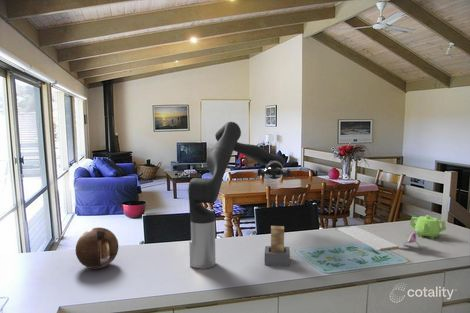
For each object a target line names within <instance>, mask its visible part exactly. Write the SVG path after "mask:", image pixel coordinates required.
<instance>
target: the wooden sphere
mask: <svg viewBox="0 0 470 313" xmlns="http://www.w3.org/2000/svg"><path fill="white" fill-rule="evenodd" d="M118 252H119V241H118V238H117V237H116V235H115V234H114V232H113V231H111V230H110V229H108V228H105V227H93V228H90V229H87V230H86V231H84V233H82V235H80V237H79V238H78V240H77V242H76V244H75V255H76V258H77V260H78V261H79V263H80V264H81V265H82V266H84V267H86V268H88V269H91V270H97V269H98V270H99V269H103V268H105V267H107V266H108V265H110V264H111V263H112V262H113V261H115V259H116V257H117V255H118Z"/></svg>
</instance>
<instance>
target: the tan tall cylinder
mask: <svg viewBox="0 0 470 313" xmlns="http://www.w3.org/2000/svg"><path fill="white" fill-rule="evenodd" d="M270 246H271V252H282V253H284V247H285V226H284V225H283V226H282V225H271V226H270Z"/></svg>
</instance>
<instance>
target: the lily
mask: <svg viewBox="0 0 470 313" xmlns="http://www.w3.org/2000/svg"><path fill="white" fill-rule="evenodd" d="M420 228H421V227H420ZM420 228H419V229H420ZM419 229H418V230H419ZM418 230H417V231H418ZM417 231H415V230H414V231H413V232H412V233H411V234H410V235H409V234H408V235H406V237H408V240H407V241H405V242H403V246H404V245H405V244H409V243H416V244H417V245H418V248H419V249H420V250H421V251H423V249H422V247H421V246H420V244H419V243H418V241H417V239H416V238H417V237H416V236H417ZM401 248H402V246H399V248H398V249H401Z"/></svg>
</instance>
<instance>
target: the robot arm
mask: <svg viewBox="0 0 470 313" xmlns="http://www.w3.org/2000/svg"><path fill="white" fill-rule="evenodd" d="M241 136H242V131H241V128H240V125H239V124H238V123H236V122H235V121H229V122H226V123H224V124H223V126H221V128H219V129H218V130H217V131H216V132H215V140H216V143H215V144H214V145H213V146H212V148H211V149H210V151H209V153H208V154H207V158H206V163H205V164H206V166H207V169H208V171H209V172H210V174H211V178H208V177H206V178H203V177H202V178H201V177H193V178H192V179H190V181H189V183H188V188H187V189H188V204H189V206H188V207H189V217H190V241H189V266H190V268H191V267H193V268H195V269H200V270H205V269H206V270H207V269H209V268H212V267H214V266H216V259H217V258H216V214H215V212H214V211H212V210H210V209H208V208H207V207H205V206H204V205H203V204H212V203H215V202H216V201H217V200H218V198H219V196H220V195H219V194H220V192H221V191H220V190H221V187H222V183H223V179H224V176H225V174H226V171H227V168H228V166H229V165H230V164H229V163H230V161H231V158H232V155H233V153H234V152H236V153H238V154H241V155H244V156H245V157H248V158H250V159H252V160H253V161H255V162H256V163H258V164H260V165H262V166H265V168H264V169H263V168H258V169H257V177H262V178H265V177H268V178H270V179H272V180H277V179H279V178H286V177H291V169H290V168H286V169H285V170H284V166H286V161H285V160H286V159H285V158H284V157H283V156H281V155H279V154H275V153H271V152H268V150H266V149H264V148H263V147H260V146H259V145H255V144H249V143H242V142H239V139H240V138H241Z"/></svg>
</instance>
